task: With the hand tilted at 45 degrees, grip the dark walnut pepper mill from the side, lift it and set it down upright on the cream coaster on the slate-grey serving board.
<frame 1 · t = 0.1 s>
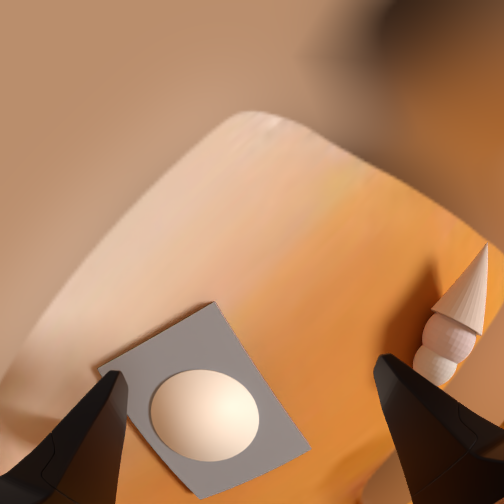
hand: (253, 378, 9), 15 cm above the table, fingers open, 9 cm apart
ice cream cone: (438, 311, 26), on the table
serving board: (205, 412, 23), on the table
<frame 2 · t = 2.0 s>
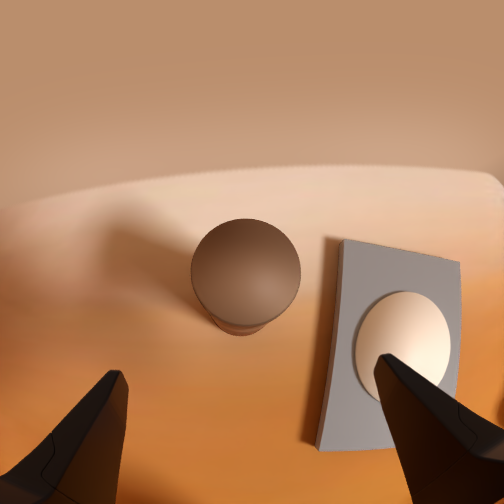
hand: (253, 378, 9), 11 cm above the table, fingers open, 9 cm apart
pepper mill: (240, 305, 21), on the table
serving board: (399, 350, 21), on the table
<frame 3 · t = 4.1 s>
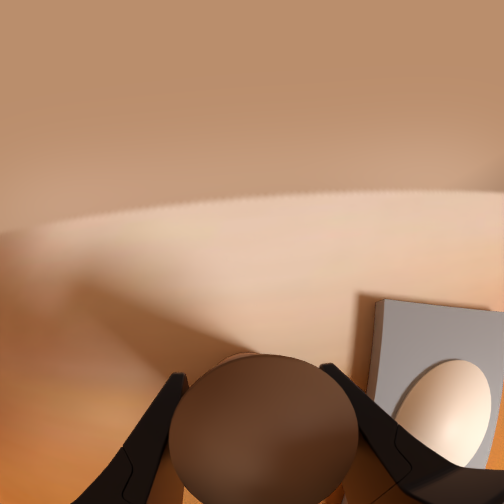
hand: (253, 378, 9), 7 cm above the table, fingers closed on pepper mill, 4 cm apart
pepper mill: (247, 391, 15), on the table, touching gripper
serving board: (435, 424, 15), on the table
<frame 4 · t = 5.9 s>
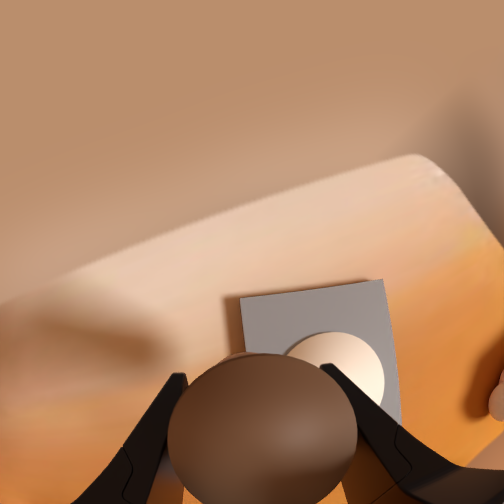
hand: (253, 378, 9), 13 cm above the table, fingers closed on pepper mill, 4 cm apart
pepper mill: (246, 390, 15), point 7 cm above the table, touching gripper
serving board: (326, 387, 22), on the table
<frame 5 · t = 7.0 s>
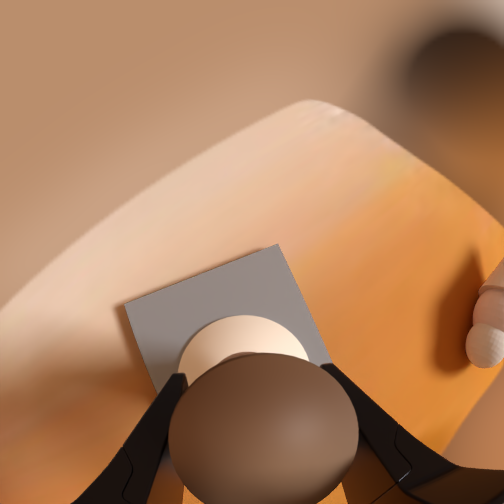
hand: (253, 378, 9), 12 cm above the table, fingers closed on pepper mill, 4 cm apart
pepper mill: (247, 390, 15), point 5 cm above the table, touching gripper
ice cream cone: (483, 299, 23), on the table
serving board: (244, 378, 20), on the table
when the fingers open (9 cm above the table, at t = 7.8 s): pepper mill drops 1 cm, resting on serving board.
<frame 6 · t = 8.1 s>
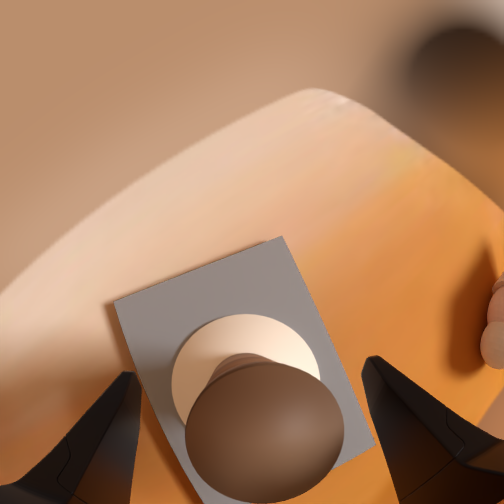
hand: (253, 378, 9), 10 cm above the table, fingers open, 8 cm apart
pepper mill: (246, 388, 16), point 2 cm above the table, touching serving board
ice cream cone: (497, 296, 21), on the table
serving board: (245, 384, 18), on the table
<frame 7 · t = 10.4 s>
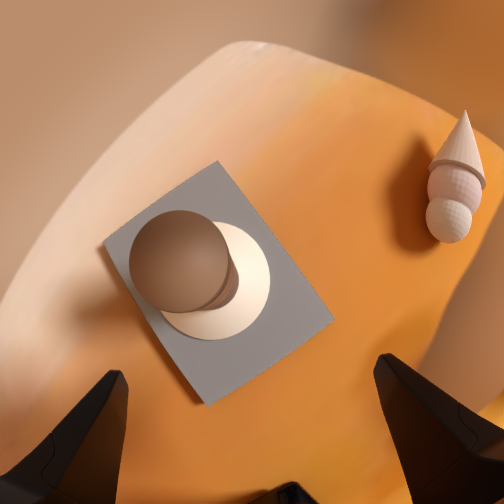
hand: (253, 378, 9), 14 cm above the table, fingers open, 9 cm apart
pepper mill: (209, 280, 22), point 2 cm above the table, touching serving board
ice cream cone: (440, 180, 26), on the table
serving board: (212, 281, 24), on the table
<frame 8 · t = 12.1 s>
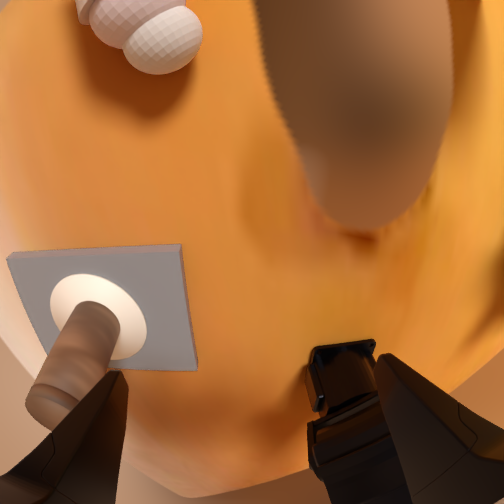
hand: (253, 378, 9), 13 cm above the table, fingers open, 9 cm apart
pepper mill: (96, 322, 22), point 2 cm above the table, touching serving board
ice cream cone: (130, 0, 13), on the table
serving board: (100, 311, 23), on the table
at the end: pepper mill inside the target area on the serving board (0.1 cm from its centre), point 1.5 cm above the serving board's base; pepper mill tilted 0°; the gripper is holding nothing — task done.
